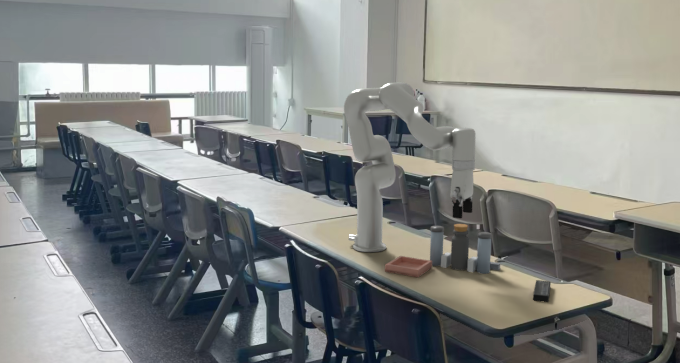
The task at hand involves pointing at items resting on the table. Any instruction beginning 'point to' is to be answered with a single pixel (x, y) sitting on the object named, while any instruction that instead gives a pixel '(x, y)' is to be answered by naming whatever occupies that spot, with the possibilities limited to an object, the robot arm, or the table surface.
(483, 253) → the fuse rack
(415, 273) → the tray
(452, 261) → the bottle
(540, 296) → the multiport hub
